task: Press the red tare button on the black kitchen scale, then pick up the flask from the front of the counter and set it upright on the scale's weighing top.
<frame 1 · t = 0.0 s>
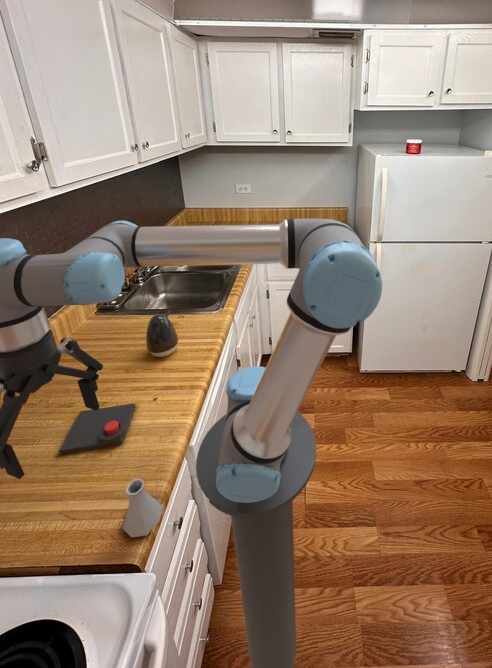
hand: (58, 437, 59), 25 cm above the counter, tool pointing down, fingers open, 13 cm apart
flask: (144, 518, 69), on the counter
tare button: (111, 428, 85), point 3 cm above the counter, slide at 0.1 cm
scale: (100, 428, 89), on the counter
dark grey egg shape: (164, 351, 118), on the counter
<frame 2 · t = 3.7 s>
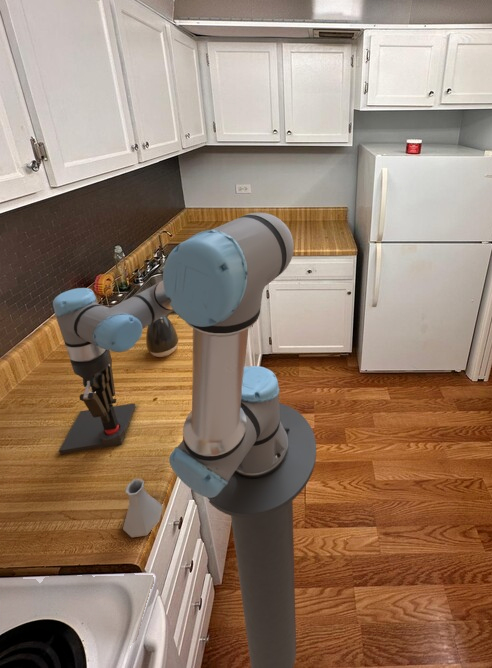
hand: (111, 426, 85), 4 cm above the counter, tool pointing down, fingers closed
tare button: (112, 430, 85), point 3 cm above the counter, slide at -0.7 cm, touching gripper
everything else where it was.
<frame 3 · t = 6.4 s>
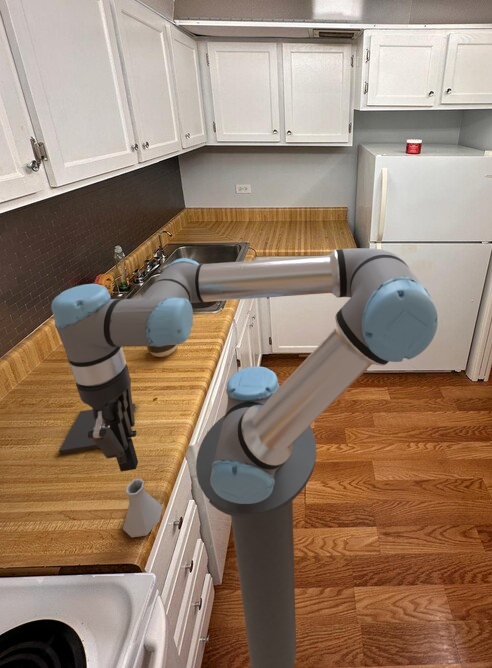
hand: (129, 466, 65), 14 cm above the counter, tool pointing down, fingers closed
tare button: (111, 428, 85), point 3 cm above the counter, slide at 0.1 cm
everything else where it was.
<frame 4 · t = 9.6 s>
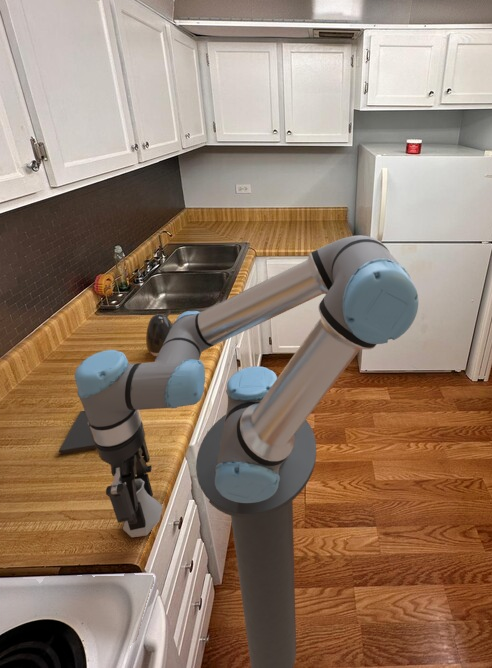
hand: (142, 511, 68), 2 cm above the counter, tool pointing down, fingers closed on flask, 5 cm apart
flask: (144, 518, 69), on the counter, touching gripper
everything else where it was.
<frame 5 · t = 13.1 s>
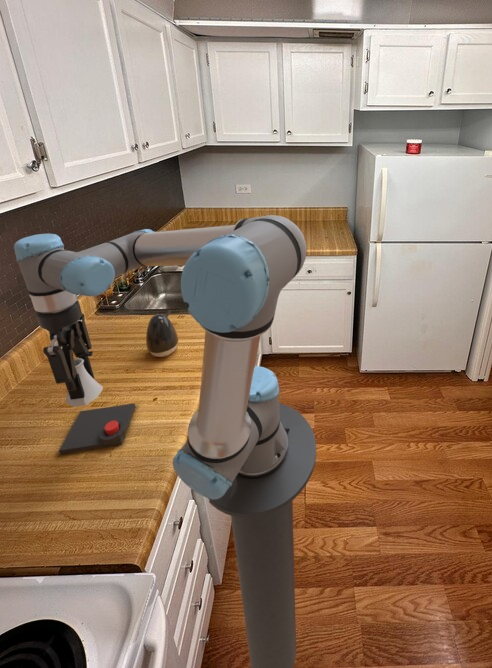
hand: (83, 388, 80), 17 cm above the counter, tool pointing down, fingers closed on flask, 5 cm apart
flask: (85, 396, 80), point 15 cm above the counter, touching gripper
everything else where it was.
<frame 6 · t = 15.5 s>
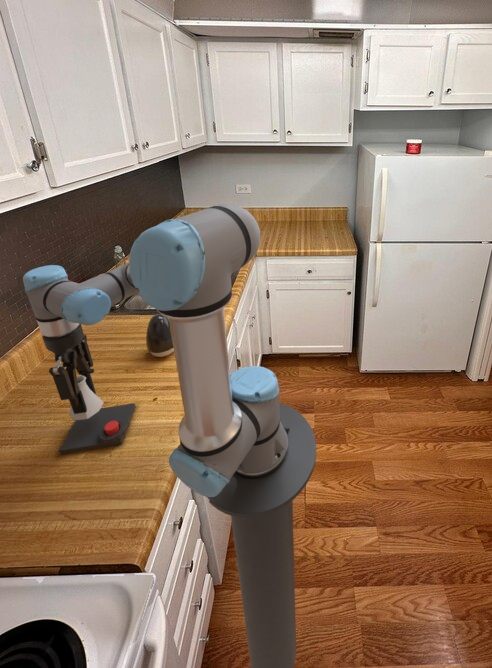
hand: (85, 403, 87), 8 cm above the counter, tool pointing down, fingers closed on flask, 5 cm apart
flask: (87, 410, 87), point 6 cm above the counter, touching gripper
everything else where it was.
when the fingers open (4 cm above the counter, at t = 17.0 s): flask stays where it is, resting on scale.
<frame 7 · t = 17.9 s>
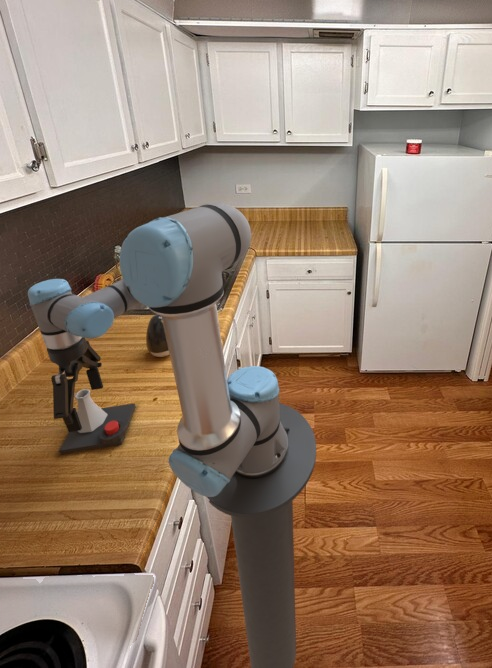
hand: (87, 407, 87), 7 cm above the counter, tool pointing down, fingers open, 13 cm apart
flask: (91, 422, 89), point 1 cm above the counter, touching scale
everything else where it was.
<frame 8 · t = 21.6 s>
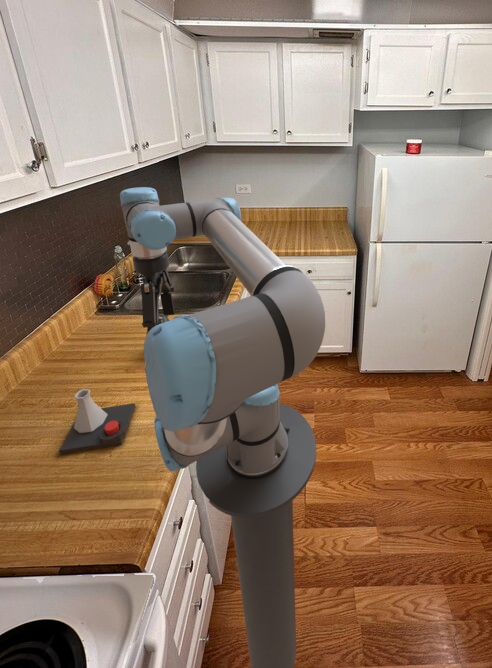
hand: (164, 328, 86), 27 cm above the counter, tool pointing down, fingers open, 13 cm apart
nothing on the counter moved.
at the end: tare button pushed in 0.8 cm at the most during the clip, back to where it started at the end; tare button slide at 0.1 cm; flask inside the target area on the scale (0.9 cm from its centre), point 1.2 cm above the scale's base; flask touching scale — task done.
